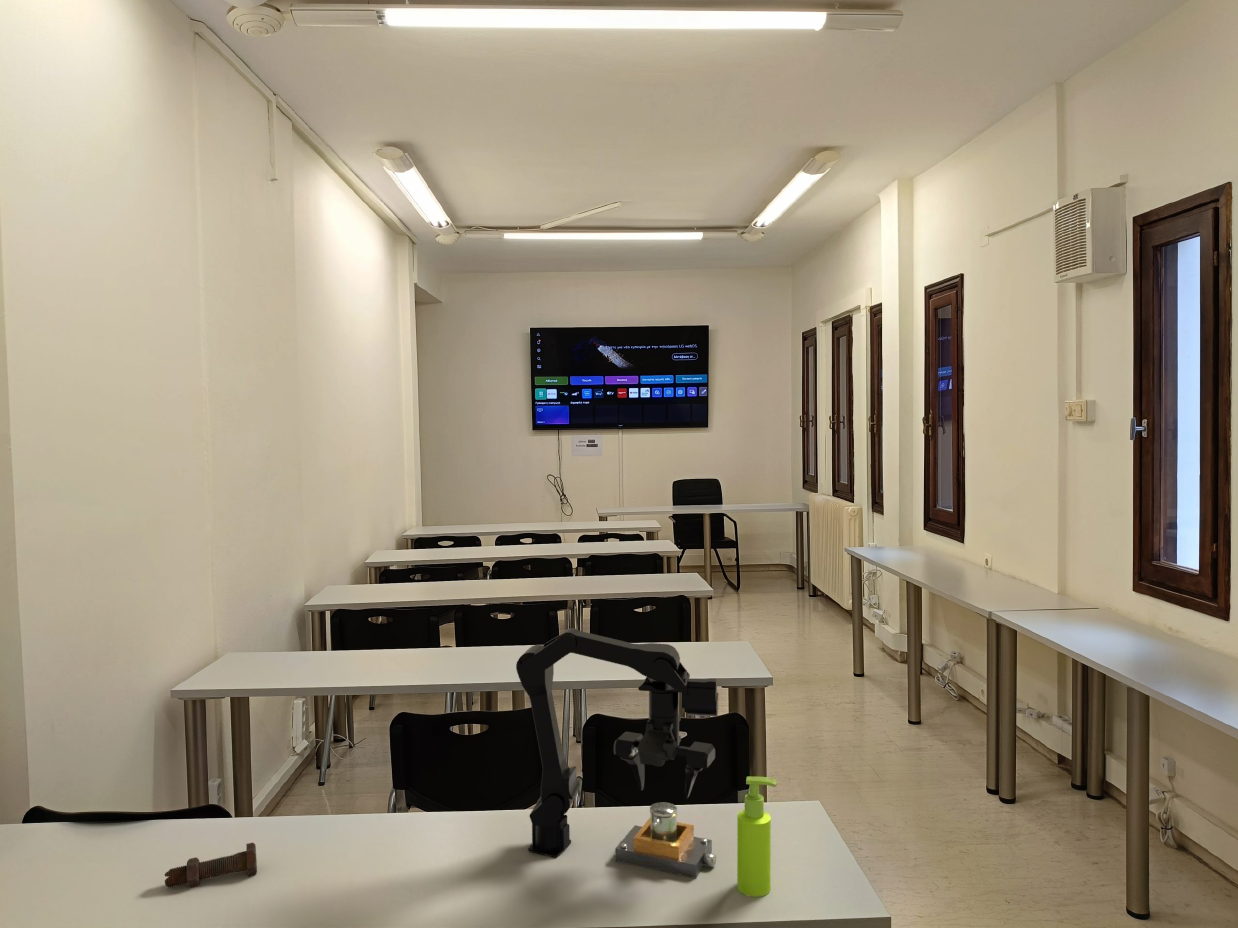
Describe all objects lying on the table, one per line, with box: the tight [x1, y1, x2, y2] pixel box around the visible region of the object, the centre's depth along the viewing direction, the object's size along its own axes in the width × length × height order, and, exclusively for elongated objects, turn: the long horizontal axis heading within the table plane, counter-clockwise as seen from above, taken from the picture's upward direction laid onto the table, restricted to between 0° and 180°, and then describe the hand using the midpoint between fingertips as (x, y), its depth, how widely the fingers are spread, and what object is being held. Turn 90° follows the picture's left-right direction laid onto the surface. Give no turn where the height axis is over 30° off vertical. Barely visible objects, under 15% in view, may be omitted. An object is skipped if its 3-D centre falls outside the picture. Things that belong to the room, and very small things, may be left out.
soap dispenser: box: [736, 776, 778, 898], centre depth 151 cm, size 6×7×20 cm
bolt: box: [164, 842, 258, 889], centre depth 155 cm, size 6×5×15 cm
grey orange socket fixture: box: [614, 817, 717, 879], centre depth 162 cm, size 18×10×5 cm, turn 67°
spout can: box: [649, 801, 678, 843], centre depth 161 cm, size 5×8×7 cm, turn 158°
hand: (664, 793), depth 162 cm, fingers open, 9 cm apart
